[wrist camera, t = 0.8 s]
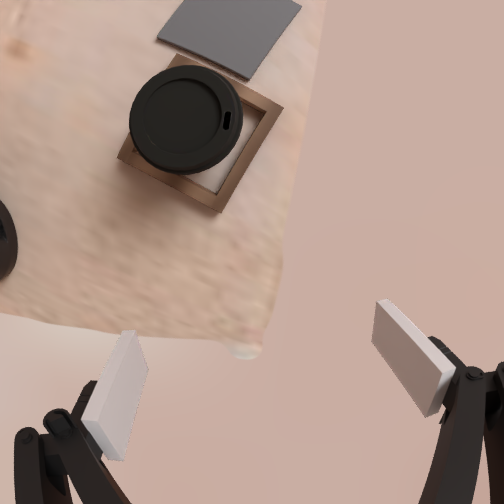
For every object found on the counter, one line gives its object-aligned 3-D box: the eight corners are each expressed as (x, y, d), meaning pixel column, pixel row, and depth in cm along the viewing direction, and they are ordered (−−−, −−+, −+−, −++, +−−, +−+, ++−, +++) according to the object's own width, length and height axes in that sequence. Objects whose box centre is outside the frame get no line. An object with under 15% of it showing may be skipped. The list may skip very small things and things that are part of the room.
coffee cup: (168, 91, 34) (135, 56, 19) (244, 100, 35) (253, 66, 21) (156, 165, 37) (115, 170, 22) (231, 174, 38) (233, 183, 23)
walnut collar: (123, 157, 36) (116, 157, 33) (179, 59, 32) (176, 53, 30) (221, 209, 39) (221, 213, 37) (280, 111, 36) (284, 107, 33)
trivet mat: (158, 38, 31) (156, 36, 30) (214, -30, 28) (213, -33, 27) (249, 80, 34) (249, 78, 33) (300, 9, 31) (302, 6, 30)
